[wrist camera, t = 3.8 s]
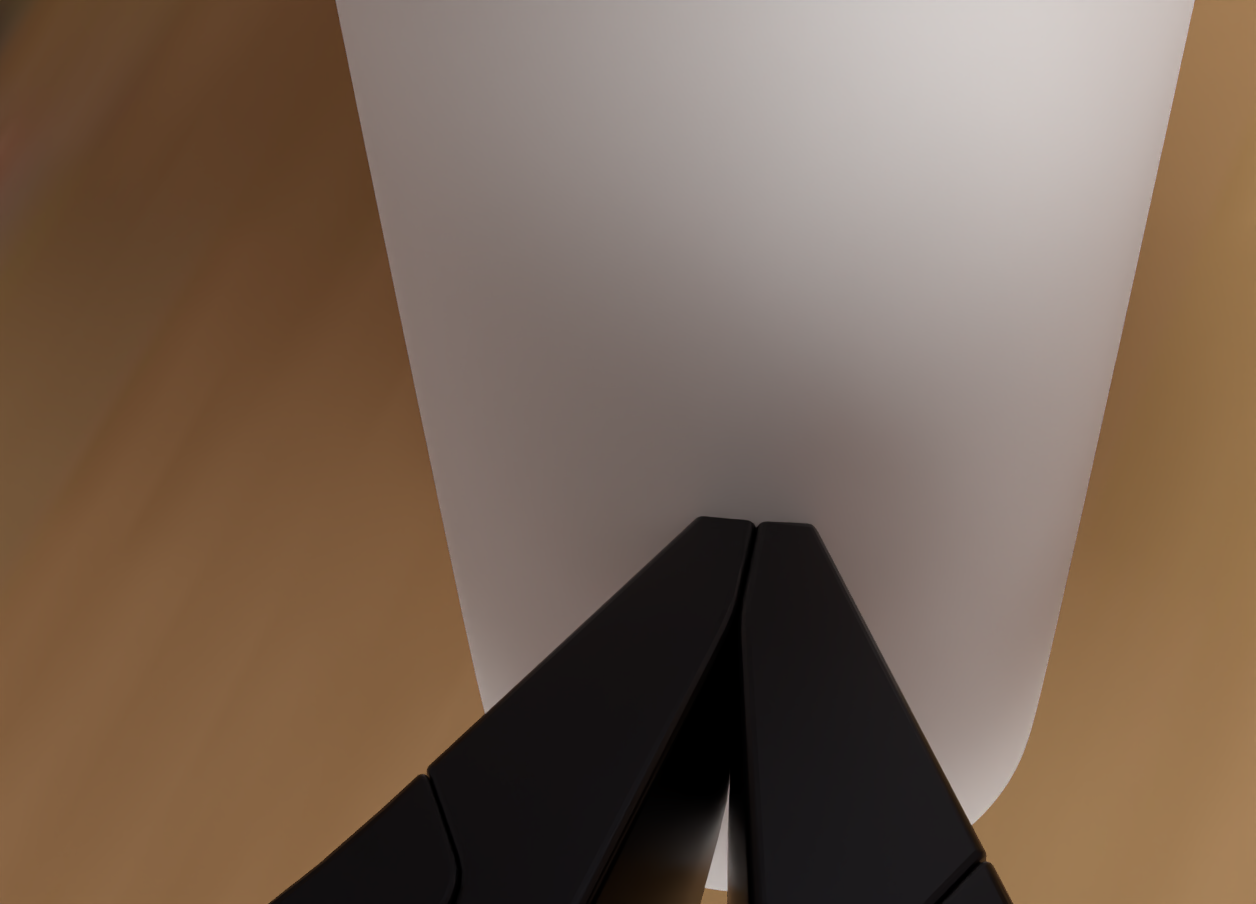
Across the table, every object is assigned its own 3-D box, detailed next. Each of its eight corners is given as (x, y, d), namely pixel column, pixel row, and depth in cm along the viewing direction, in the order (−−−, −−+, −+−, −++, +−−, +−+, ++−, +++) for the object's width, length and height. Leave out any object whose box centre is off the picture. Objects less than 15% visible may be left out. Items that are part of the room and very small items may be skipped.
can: (377, 800, 12) (-101, -753, 5) (621, 472, 17) (532, -587, 10) (972, 1026, 10) (1480, -1249, 3) (1067, 572, 15) (1352, -729, 8)
